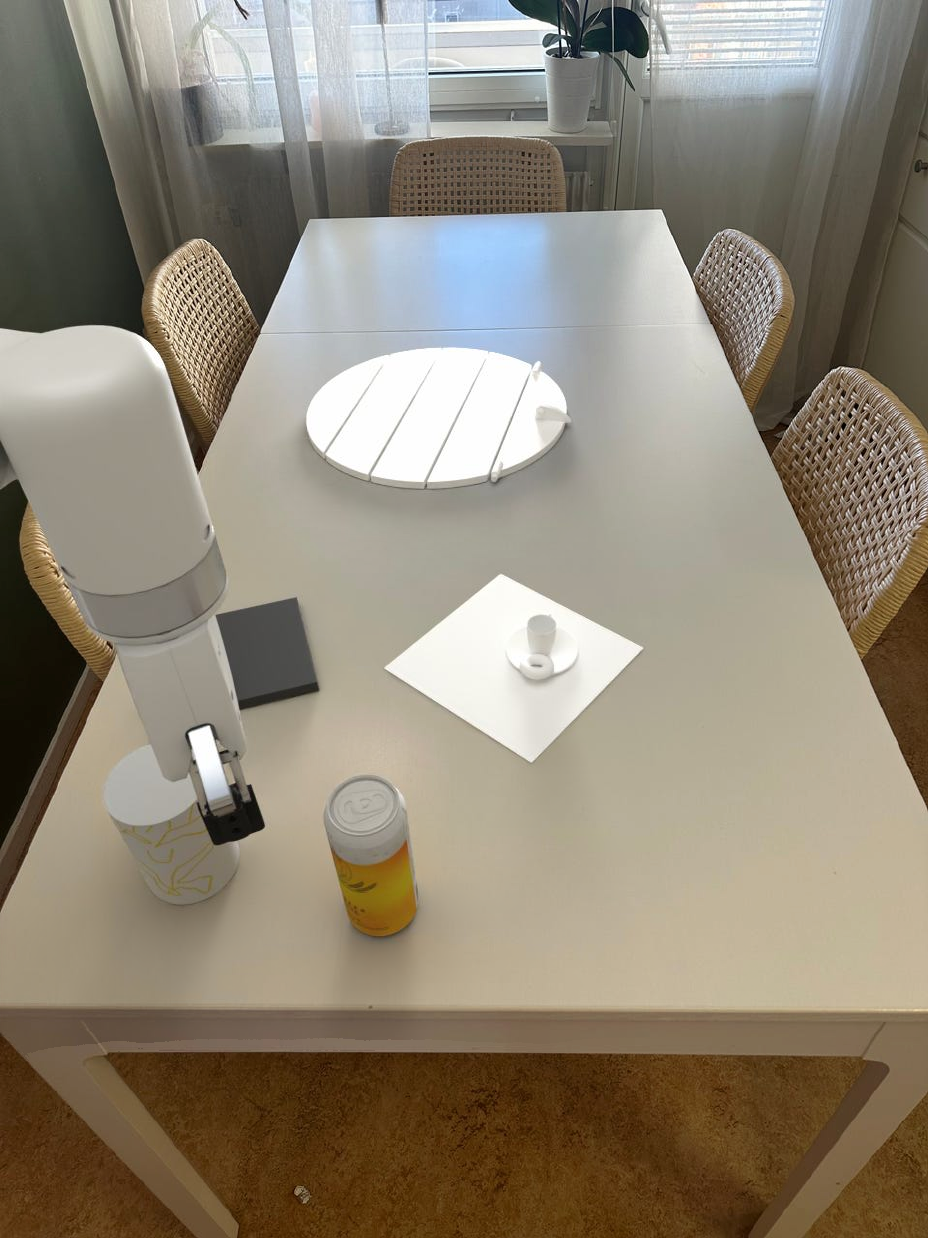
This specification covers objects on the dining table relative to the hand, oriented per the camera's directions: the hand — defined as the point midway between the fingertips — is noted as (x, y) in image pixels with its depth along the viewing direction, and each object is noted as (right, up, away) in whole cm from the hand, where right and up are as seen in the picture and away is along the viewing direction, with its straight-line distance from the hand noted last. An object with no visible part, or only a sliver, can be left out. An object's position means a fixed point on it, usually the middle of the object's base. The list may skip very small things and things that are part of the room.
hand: (223, 774), depth 56 cm
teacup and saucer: (+21, +6, +37) cm, 43 cm away
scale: (-8, +6, +38) cm, 40 cm away
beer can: (+9, -14, +17) cm, 24 cm away
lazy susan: (+12, +41, +75) cm, 86 cm away
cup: (-8, -12, +21) cm, 25 cm away
